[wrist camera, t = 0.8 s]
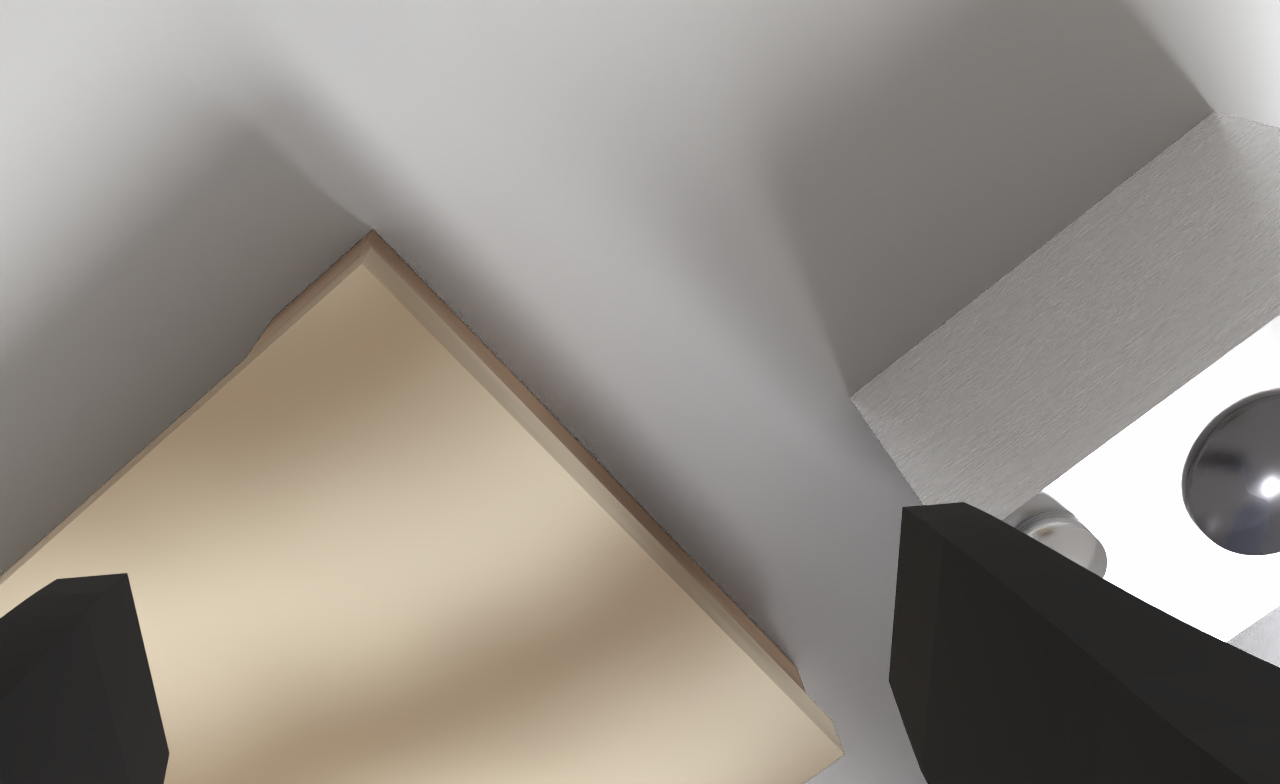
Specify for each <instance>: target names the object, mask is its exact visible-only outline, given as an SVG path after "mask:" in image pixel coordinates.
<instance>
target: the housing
mask: <svg viewBox="0 0 1280 784" xmlns="http://www.w3.org/2000/svg"><path fill="white" fill-rule="evenodd" d="M849 398H850V399H851V401H852V402H853V404H854V405H855V406H856V408H857V409H858V411H859V412H860V414H861V415H862V417H863V418H864V420H865V421H866V422H867V424H868V425H869V427H870V428H871V430H872V431H873V433H874V434H875V436H876V437H877V438H878V440H879V441H880V443H881V444H882V446H883V447H884V449H885V450H886V452H887V453H888V454H889V456H890V457H891V459H892V460H893V462H894V463H895V465H896V466H897V468H898V469H899V470H900V472H901V473H902V475H903V476H904V478H905V479H906V481H907V482H908V484H909V485H910V486H911V488H912V489H913V491H914V492H915V494H916V495H917V497H918V498H919V500H920V501H921V502H922V504H923V505H934V504H946V503H958V502H965V503H967V504H969V505H972V506H974V507H976V508H978V509H980V510H982V511H984V512H986V513H988V514H990V515H992V516H994V517H996V518H998V519H1000V520H1001V521H1003V522H1005V523H1007V524H1009V525H1010V526H1012V527H1014V528H1016V529H1018V530H1019V531H1021V532H1023V533H1025V534H1027V535H1028V536H1030V537H1032V538H1034V539H1035V540H1037V541H1039V542H1041V543H1042V544H1044V545H1046V546H1048V547H1049V548H1051V549H1053V550H1055V551H1056V552H1058V553H1060V554H1062V555H1063V556H1065V557H1067V558H1069V559H1070V560H1072V561H1074V562H1076V563H1077V564H1079V565H1081V566H1083V567H1084V568H1086V569H1088V570H1090V571H1091V572H1093V573H1095V574H1097V575H1098V576H1100V577H1102V578H1104V579H1106V580H1107V581H1109V582H1111V583H1113V584H1115V585H1116V586H1118V587H1120V588H1122V589H1124V590H1125V591H1127V592H1129V593H1131V594H1133V595H1135V596H1136V597H1138V598H1140V599H1142V600H1144V601H1146V602H1147V603H1149V604H1151V605H1153V606H1155V607H1157V608H1159V609H1161V610H1163V611H1165V612H1166V613H1168V614H1170V615H1172V616H1174V617H1176V618H1178V619H1180V620H1182V621H1184V622H1186V623H1188V624H1190V625H1192V626H1194V627H1196V628H1198V629H1200V630H1202V631H1204V632H1206V633H1208V634H1210V635H1212V636H1214V637H1216V638H1218V639H1220V640H1222V641H1224V642H1226V641H1228V640H1229V639H1231V638H1232V637H1234V636H1235V635H1237V634H1238V633H1239V632H1241V631H1242V630H1244V629H1245V628H1247V627H1248V626H1250V625H1251V624H1252V623H1254V622H1255V621H1257V620H1258V619H1260V618H1261V617H1263V616H1264V615H1266V614H1267V613H1268V612H1270V611H1271V610H1273V609H1274V608H1276V607H1277V606H1279V605H1280V128H1277V127H1273V126H1269V125H1265V124H1262V123H1258V122H1254V121H1250V120H1246V119H1242V118H1238V117H1235V116H1231V115H1227V114H1223V113H1219V112H1215V111H1214V112H1213V113H1211V114H1210V115H1209V116H1208V117H1206V118H1205V119H1204V120H1202V121H1201V122H1200V123H1199V124H1197V125H1196V126H1195V127H1194V128H1192V129H1191V130H1190V131H1188V132H1187V133H1186V134H1185V135H1183V136H1182V137H1181V138H1180V139H1178V140H1177V141H1176V142H1174V143H1173V144H1172V145H1171V146H1169V147H1168V148H1167V149H1165V150H1164V151H1163V152H1162V153H1160V154H1159V155H1158V156H1157V157H1155V158H1154V159H1153V160H1151V161H1150V162H1149V163H1148V164H1146V165H1145V166H1144V167H1143V168H1141V169H1140V170H1139V171H1137V172H1136V173H1135V174H1134V175H1132V176H1131V177H1130V178H1129V179H1127V180H1126V181H1125V182H1123V183H1122V184H1121V185H1120V186H1118V187H1117V188H1116V189H1114V190H1113V191H1112V192H1111V193H1109V194H1108V195H1107V196H1106V197H1104V198H1103V199H1102V200H1100V201H1099V202H1098V203H1097V204H1095V205H1094V206H1093V207H1092V208H1090V209H1089V210H1088V211H1086V212H1085V213H1084V214H1083V215H1081V216H1080V217H1079V218H1078V219H1076V220H1075V221H1074V222H1072V223H1071V224H1070V225H1069V226H1067V227H1066V228H1065V229H1063V230H1062V231H1061V232H1060V233H1058V234H1057V235H1056V236H1055V237H1053V238H1052V239H1051V240H1049V241H1048V242H1047V243H1046V244H1044V245H1043V246H1042V247H1041V248H1039V249H1038V250H1037V251H1035V252H1034V253H1033V254H1032V255H1030V256H1029V257H1028V258H1026V259H1025V260H1024V261H1023V262H1021V263H1020V264H1019V265H1018V266H1016V267H1015V268H1014V269H1012V270H1011V271H1010V272H1009V273H1007V274H1006V275H1005V276H1004V277H1002V278H1001V279H1000V280H998V281H997V282H996V283H995V284H993V285H992V286H991V287H990V288H988V289H987V290H986V291H984V292H983V293H982V294H981V295H979V296H978V297H977V298H975V299H974V300H973V301H972V302H970V303H969V304H968V305H967V306H965V307H964V308H963V309H961V310H960V311H959V312H958V313H956V314H955V315H954V316H953V317H951V318H950V319H949V320H947V321H946V322H945V323H944V324H942V325H941V326H940V327H939V328H937V329H936V330H935V331H933V332H932V333H931V334H930V335H928V336H927V337H926V338H924V339H923V340H922V341H921V342H919V343H918V344H917V345H916V346H914V347H913V348H912V349H910V350H909V351H908V352H907V353H905V354H904V355H903V356H902V357H900V358H899V359H898V360H896V361H895V362H894V363H893V364H891V365H890V366H889V367H888V368H886V369H885V370H884V371H882V372H881V373H880V374H879V375H877V376H876V377H875V378H873V379H872V380H871V381H870V382H868V383H867V384H866V385H865V386H863V387H862V388H861V389H859V390H858V391H857V392H856V393H854V394H853V395H852V396H851V397H849Z"/></svg>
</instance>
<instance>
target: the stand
mask: <svg viewBox="0 0 1280 784" xmlns="http://www.w3.org/2000/svg"><path fill="white" fill-rule="evenodd" d="M121 573H127V574H128V578H129V582H130V586H131V591H132V595H133V599H134V604H135V608H136V612H137V616H138V621H139V625H140V629H141V633H142V638H143V642H144V646H145V651H146V655H147V659H148V663H149V668H150V672H151V676H152V681H153V685H154V689H155V693H156V698H157V702H158V706H159V710H160V715H161V719H162V723H163V728H164V732H165V736H166V740H167V745H168V749H169V753H170V754H169V759H168V764H167V769H166V774H165V779H164V784H804V783H806V782H807V781H808V780H810V779H811V778H813V777H814V776H815V775H817V774H818V773H820V772H821V771H822V770H824V769H825V768H826V767H828V766H829V765H831V764H832V763H833V762H835V761H836V760H838V759H839V758H840V757H842V756H843V755H845V753H844V751H843V748H842V745H841V743H840V740H839V738H838V735H837V732H836V730H835V727H834V725H833V722H832V719H831V718H830V717H829V716H828V715H827V714H826V713H825V712H824V711H823V710H822V709H821V708H820V707H819V706H818V705H817V704H816V703H815V702H814V701H813V700H812V699H811V698H810V697H809V696H808V695H807V694H806V692H805V689H804V687H803V684H802V681H801V678H800V676H799V673H798V670H797V667H796V666H795V665H794V664H793V663H792V662H791V661H790V660H789V659H788V658H787V657H786V656H785V655H784V654H783V653H782V652H781V650H780V649H779V648H778V647H777V646H776V645H775V644H774V643H773V642H772V641H771V640H770V639H769V638H768V637H767V636H766V635H765V634H764V633H763V632H762V631H761V630H760V629H759V628H758V627H757V626H756V625H755V624H754V623H753V622H752V621H751V619H750V618H749V617H748V616H747V615H746V614H745V613H744V612H743V611H742V610H741V609H740V608H739V607H738V606H737V605H736V604H735V603H734V602H733V601H732V600H731V599H730V598H729V597H728V596H727V595H726V594H725V593H724V592H723V591H722V589H721V588H720V587H719V586H718V585H717V584H716V583H715V582H714V581H713V580H712V579H711V578H710V577H709V576H708V575H707V574H706V573H705V572H704V571H703V570H702V569H701V568H700V567H699V566H698V565H697V564H696V563H695V562H694V561H693V559H692V558H691V557H690V556H689V555H688V554H687V553H686V552H685V551H684V550H683V549H682V548H681V547H680V546H679V545H678V544H677V543H676V542H675V541H674V540H673V539H672V538H671V537H670V536H669V535H668V534H667V533H666V532H665V531H664V530H663V528H662V527H661V526H660V525H659V524H658V523H657V522H656V521H655V520H654V519H653V518H652V517H651V516H650V515H649V514H648V513H647V512H646V511H645V510H644V509H643V508H642V507H641V506H640V505H639V504H638V503H637V502H636V501H635V500H634V498H633V497H632V496H631V495H630V494H629V493H628V492H627V491H626V490H625V489H624V488H623V487H622V486H621V485H620V484H619V483H618V482H617V481H616V480H615V479H614V478H613V477H612V476H611V475H610V474H609V473H608V472H607V471H606V470H605V469H604V467H603V466H602V465H601V464H600V463H599V462H598V461H597V460H596V459H595V458H594V457H593V456H592V455H591V454H590V453H589V452H588V451H587V450H586V449H585V448H584V447H583V446H582V445H581V444H580V443H579V442H578V441H577V440H576V439H575V437H574V436H573V435H572V434H571V433H570V432H569V431H568V430H567V429H566V428H565V427H564V426H563V425H562V424H561V423H560V422H559V421H558V420H557V419H556V418H555V417H554V416H553V415H552V414H551V413H550V412H549V411H548V410H547V409H546V408H545V406H544V405H543V404H542V403H541V402H540V401H539V400H538V399H537V398H536V397H535V396H534V395H533V394H532V393H531V392H530V391H529V390H528V389H527V388H526V387H525V386H524V385H523V384H522V383H521V382H520V381H519V380H518V379H517V378H516V376H515V375H514V374H513V373H512V372H511V371H510V370H509V369H508V368H507V367H506V366H505V365H504V364H503V363H502V362H501V361H500V360H499V359H498V358H497V357H496V356H495V355H494V354H493V353H492V352H491V351H490V350H489V349H488V348H487V347H486V345H485V344H484V343H483V342H482V341H481V340H480V339H479V338H478V337H477V336H476V335H475V334H474V333H473V332H472V331H471V330H470V329H469V328H468V327H467V326H466V325H465V324H464V323H463V322H462V321H461V320H460V319H459V318H458V317H457V315H456V314H455V313H454V312H453V311H452V310H451V309H450V308H449V307H448V306H447V305H446V304H445V303H444V302H443V301H442V300H441V299H440V298H439V297H438V296H437V295H436V294H435V293H434V292H433V291H432V290H431V289H430V288H429V287H428V286H427V284H426V283H425V282H424V281H423V280H422V279H421V278H420V277H419V276H418V275H417V274H416V273H415V272H414V271H413V270H412V269H411V268H410V267H409V266H408V265H407V264H406V263H405V262H404V261H403V260H402V259H401V258H400V257H399V256H398V254H397V253H396V252H395V251H394V250H393V249H392V248H391V247H390V246H389V245H388V244H387V243H386V242H385V241H384V240H383V239H382V238H381V237H380V236H379V235H378V234H377V233H376V232H375V231H374V230H371V231H370V232H369V233H368V234H367V235H366V236H365V237H364V238H362V239H361V240H360V241H359V242H358V243H357V244H356V245H355V246H354V247H352V248H351V249H350V250H349V251H348V252H347V253H346V254H345V255H343V256H342V257H341V258H340V259H339V260H338V261H337V262H336V263H334V264H333V265H332V266H331V267H330V268H329V269H328V270H327V271H326V272H324V273H323V274H322V275H321V276H320V277H319V278H318V279H317V280H315V281H314V282H313V283H312V284H311V285H310V286H309V287H308V288H306V289H305V290H304V291H303V292H302V293H301V294H300V295H299V296H298V297H296V298H295V299H294V300H293V301H292V302H291V303H290V304H289V305H287V306H286V307H285V308H284V309H283V310H282V311H281V312H280V313H278V314H277V315H276V316H275V317H274V318H273V319H272V320H271V322H270V323H269V325H268V326H267V328H266V329H265V331H264V332H263V334H262V335H261V336H260V338H259V339H258V341H257V342H256V344H255V345H254V347H253V348H252V350H251V351H250V353H249V354H248V356H247V357H246V358H245V359H244V360H243V361H242V362H241V363H240V364H239V365H238V366H236V367H235V368H234V369H233V370H232V371H231V372H230V373H229V374H227V375H226V376H225V377H224V378H223V379H222V380H221V381H220V382H218V383H217V384H216V385H215V386H214V387H213V388H212V389H211V390H209V391H208V392H207V393H206V394H205V395H204V396H203V397H202V398H200V399H199V400H198V401H197V402H196V403H195V404H194V405H193V406H191V407H190V408H189V409H188V410H187V411H186V412H185V413H184V414H182V415H181V416H180V417H179V418H178V419H177V420H176V421H175V422H173V423H172V424H171V425H170V426H169V427H168V428H167V429H166V430H164V431H163V432H162V433H161V434H160V435H159V436H158V437H157V438H155V439H154V440H153V441H152V442H151V443H150V444H149V445H148V446H146V447H145V448H144V449H143V450H142V451H141V452H140V453H139V454H137V455H136V456H135V457H134V458H133V459H132V460H131V461H130V462H128V463H127V464H126V465H125V466H124V467H123V468H122V469H121V470H120V471H118V472H117V473H116V474H115V475H114V476H113V477H112V478H111V479H109V480H108V481H107V482H106V483H105V484H104V485H103V486H102V487H100V488H99V489H98V490H97V491H96V492H95V493H94V494H93V495H91V496H90V497H89V498H88V499H87V500H86V501H85V502H84V503H82V504H81V505H80V506H79V507H78V508H77V509H76V510H75V511H73V512H72V513H71V514H70V515H69V516H68V517H67V518H66V519H64V520H63V521H62V522H61V523H60V524H59V525H58V526H57V527H55V528H54V529H53V530H52V531H51V532H50V533H49V534H48V535H46V536H45V537H44V538H43V539H42V540H41V541H40V542H39V543H37V544H36V545H35V546H34V547H33V548H32V549H31V550H30V551H28V552H27V553H26V554H25V555H24V556H23V557H22V558H21V559H19V560H18V561H17V562H16V563H15V564H14V565H13V566H12V567H10V568H9V569H8V570H7V571H6V572H5V573H4V574H3V575H1V576H0V618H1V617H3V616H4V615H5V614H7V613H8V612H9V611H11V610H12V609H13V608H15V607H16V606H17V605H19V604H20V603H22V602H23V601H24V600H26V599H27V598H29V597H30V596H31V595H33V594H34V593H36V592H37V591H39V590H40V589H42V588H43V587H45V586H46V585H48V584H50V583H51V582H53V581H54V580H56V579H62V578H74V577H85V576H97V575H109V574H121Z"/></svg>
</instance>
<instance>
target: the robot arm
mask: <svg viewBox="0 0 1280 784" xmlns="http://www.w3.org/2000/svg"><path fill="white" fill-rule="evenodd" d="M889 683H890V685H891V688H892V691H893V694H894V697H895V700H896V703H897V706H898V709H899V712H900V715H901V717H902V720H903V723H904V726H905V729H906V732H907V734H908V737H909V740H910V742H911V745H912V748H913V750H914V753H915V756H916V758H917V761H918V764H919V766H920V769H921V771H922V773H923V775H924V777H925V779H926V781H927V783H928V784H1280V668H1279V667H1277V666H1275V665H1273V664H1270V663H1268V662H1266V661H1264V660H1262V659H1259V658H1257V657H1255V656H1253V655H1251V654H1249V653H1246V652H1244V651H1242V650H1240V649H1238V648H1236V647H1234V646H1232V645H1230V644H1228V643H1226V642H1224V641H1222V640H1220V639H1218V638H1216V637H1214V636H1212V635H1210V634H1208V633H1206V632H1204V631H1202V630H1200V629H1198V628H1196V627H1194V626H1192V625H1190V624H1188V623H1186V622H1184V621H1182V620H1180V619H1178V618H1176V617H1174V616H1172V615H1170V614H1168V613H1166V612H1165V611H1163V610H1161V609H1159V608H1157V607H1155V606H1153V605H1151V604H1149V603H1147V602H1146V601H1144V600H1142V599H1140V598H1138V597H1136V596H1135V595H1133V594H1131V593H1129V592H1127V591H1125V590H1124V589H1122V588H1120V587H1118V586H1116V585H1115V584H1113V583H1111V582H1109V581H1107V580H1106V579H1104V578H1102V577H1100V576H1098V575H1097V574H1095V573H1093V572H1091V571H1090V570H1088V569H1086V568H1084V567H1083V566H1081V565H1079V564H1077V563H1076V562H1074V561H1072V560H1070V559H1069V558H1067V557H1065V556H1063V555H1062V554H1060V553H1058V552H1056V551H1055V550H1053V549H1051V548H1049V547H1048V546H1046V545H1044V544H1042V543H1041V542H1039V541H1037V540H1035V539H1034V538H1032V537H1030V536H1028V535H1027V534H1025V533H1023V532H1021V531H1019V530H1018V529H1016V528H1014V527H1012V526H1010V525H1009V524H1007V523H1005V522H1003V521H1001V520H1000V519H998V518H996V517H994V516H992V515H990V514H988V513H986V512H984V511H982V510H980V509H978V508H976V507H974V506H972V505H969V504H967V503H965V502H958V503H946V504H934V505H922V506H911V507H903V509H902V522H901V535H900V547H899V560H898V572H897V585H896V597H895V610H894V622H893V635H892V647H891V660H890V672H889ZM169 754H170V753H169V749H168V745H167V740H166V736H165V732H164V728H163V723H162V719H161V715H160V710H159V706H158V702H157V698H156V693H155V689H154V685H153V681H152V676H151V672H150V668H149V663H148V659H147V655H146V651H145V646H144V642H143V638H142V633H141V629H140V625H139V621H138V616H137V612H136V608H135V604H134V599H133V595H132V591H131V586H130V582H129V578H128V574H127V573H121V574H109V575H97V576H85V577H74V578H62V579H56V580H54V581H53V582H51V583H50V584H48V585H46V586H45V587H43V588H42V589H40V590H39V591H37V592H36V593H34V594H33V595H31V596H30V597H29V598H27V599H26V600H24V601H23V602H22V603H20V604H19V605H17V606H16V607H15V608H13V609H12V610H11V611H9V612H8V613H7V614H5V615H4V616H3V617H1V618H0V784H164V779H165V774H166V769H167V764H168V759H169Z"/></svg>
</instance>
